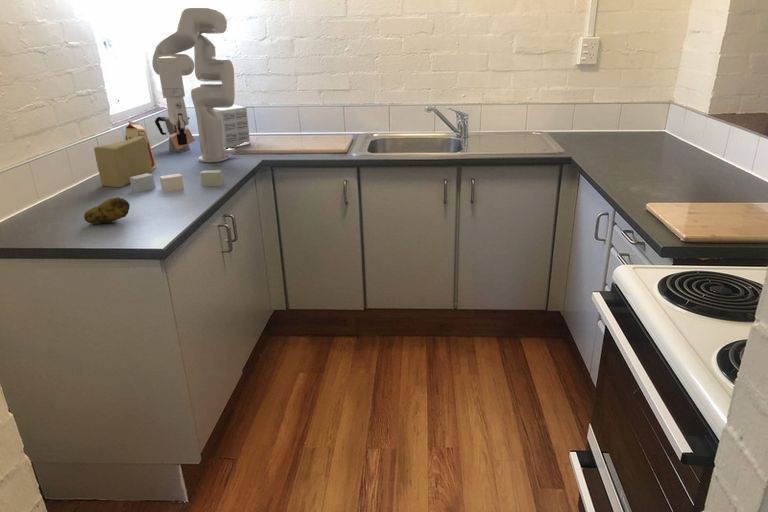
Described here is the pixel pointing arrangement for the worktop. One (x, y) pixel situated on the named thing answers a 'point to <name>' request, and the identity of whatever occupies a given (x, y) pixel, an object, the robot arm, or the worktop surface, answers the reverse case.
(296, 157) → the worktop surface
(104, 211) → the potato
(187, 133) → the terracotta brick
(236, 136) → the supplement box
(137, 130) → the milk carton
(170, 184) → the cream brick
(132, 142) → the cheese
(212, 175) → the sage brick
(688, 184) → the worktop surface
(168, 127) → the coffeepot
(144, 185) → the slate brick
